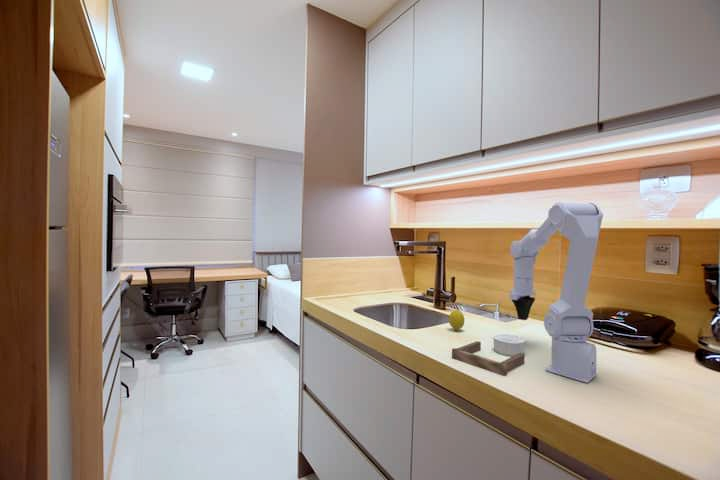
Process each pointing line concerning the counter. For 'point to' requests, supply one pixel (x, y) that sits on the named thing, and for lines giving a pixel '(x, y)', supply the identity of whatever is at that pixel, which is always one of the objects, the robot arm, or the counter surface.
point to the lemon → (456, 319)
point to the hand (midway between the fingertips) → (523, 319)
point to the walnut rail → (494, 366)
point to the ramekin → (508, 344)
